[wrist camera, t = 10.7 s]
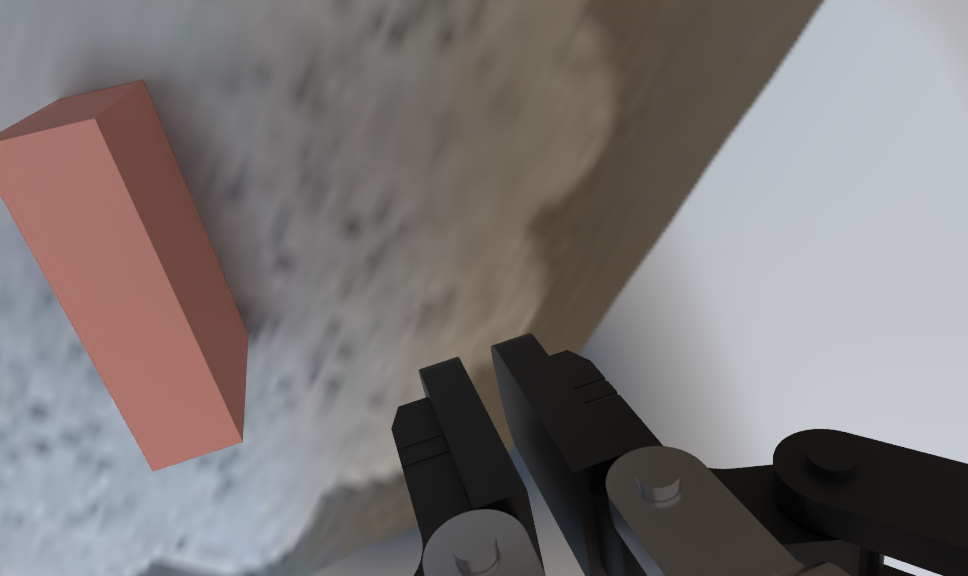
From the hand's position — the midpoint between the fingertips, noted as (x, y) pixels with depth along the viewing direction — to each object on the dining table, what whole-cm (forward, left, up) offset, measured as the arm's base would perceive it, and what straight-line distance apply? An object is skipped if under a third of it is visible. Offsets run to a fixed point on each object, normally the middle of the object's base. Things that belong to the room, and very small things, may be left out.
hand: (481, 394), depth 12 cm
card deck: (-1, -7, -13) cm, 15 cm away
